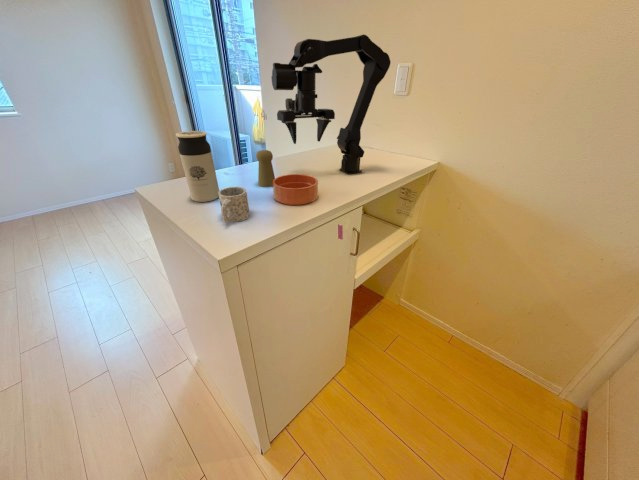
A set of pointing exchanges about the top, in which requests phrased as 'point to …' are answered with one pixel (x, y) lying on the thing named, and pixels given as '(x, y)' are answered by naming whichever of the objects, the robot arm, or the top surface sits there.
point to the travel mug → (198, 165)
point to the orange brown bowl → (295, 189)
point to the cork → (265, 168)
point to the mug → (234, 204)
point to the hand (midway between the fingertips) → (306, 142)
